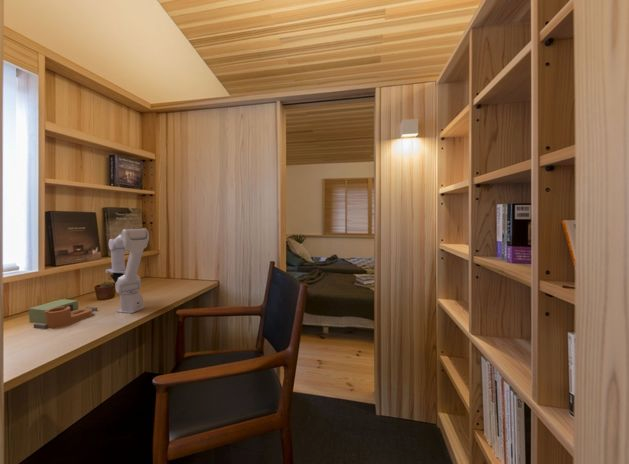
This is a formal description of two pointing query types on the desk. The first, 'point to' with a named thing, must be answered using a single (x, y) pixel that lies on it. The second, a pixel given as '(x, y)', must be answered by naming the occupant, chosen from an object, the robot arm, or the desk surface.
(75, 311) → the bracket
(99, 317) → the desk surface
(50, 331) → the desk surface
